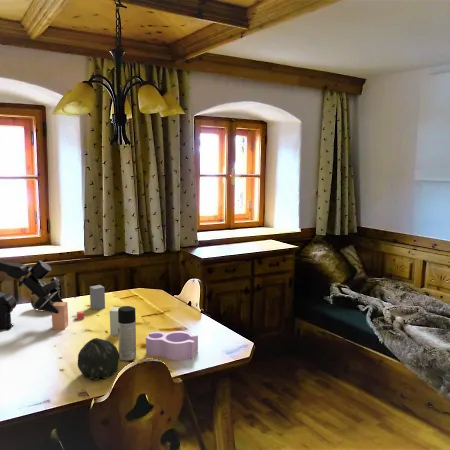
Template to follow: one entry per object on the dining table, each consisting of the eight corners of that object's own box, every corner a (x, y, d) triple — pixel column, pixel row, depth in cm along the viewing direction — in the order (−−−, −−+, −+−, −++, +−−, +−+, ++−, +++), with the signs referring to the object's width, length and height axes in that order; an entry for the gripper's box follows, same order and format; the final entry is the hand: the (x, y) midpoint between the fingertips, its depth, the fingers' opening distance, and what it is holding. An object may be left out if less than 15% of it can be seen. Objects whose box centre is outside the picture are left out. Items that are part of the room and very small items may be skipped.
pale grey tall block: (122, 335, 204) (122, 311, 202) (110, 335, 204) (109, 310, 203) (126, 330, 209) (126, 307, 208) (114, 330, 210) (113, 306, 208)
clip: (142, 357, 182) (142, 341, 181) (152, 345, 195) (152, 329, 194) (192, 361, 179) (192, 344, 178) (199, 348, 191) (199, 332, 190)
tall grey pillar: (105, 307, 240) (104, 287, 238) (94, 310, 237) (94, 289, 235) (100, 305, 244) (99, 284, 243) (90, 307, 241) (89, 286, 239)
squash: (120, 347, 179) (93, 323, 172) (132, 364, 166) (103, 339, 159) (92, 376, 175) (64, 353, 169) (102, 395, 162) (71, 372, 156)
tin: (30, 309, 237) (30, 293, 235) (35, 307, 240) (34, 292, 238) (56, 312, 232) (55, 296, 231) (60, 310, 235) (59, 294, 234)
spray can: (128, 352, 187) (127, 304, 184) (140, 357, 183) (139, 308, 180) (115, 358, 182) (113, 308, 179) (126, 363, 177) (125, 312, 174)
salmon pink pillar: (64, 329, 211) (63, 305, 209) (52, 329, 210) (51, 306, 209) (68, 324, 216) (67, 302, 215) (56, 325, 216) (55, 302, 214)
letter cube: (84, 319, 224) (83, 313, 224) (77, 319, 223) (77, 313, 223) (83, 317, 227) (83, 311, 226) (77, 317, 226) (76, 311, 225)
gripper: (40, 279, 200) (67, 304, 202) (54, 268, 219) (79, 291, 221) (22, 297, 201) (49, 321, 203) (38, 284, 219) (62, 307, 222)
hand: (61, 309), depth 212 cm, fingers open, 9 cm apart
